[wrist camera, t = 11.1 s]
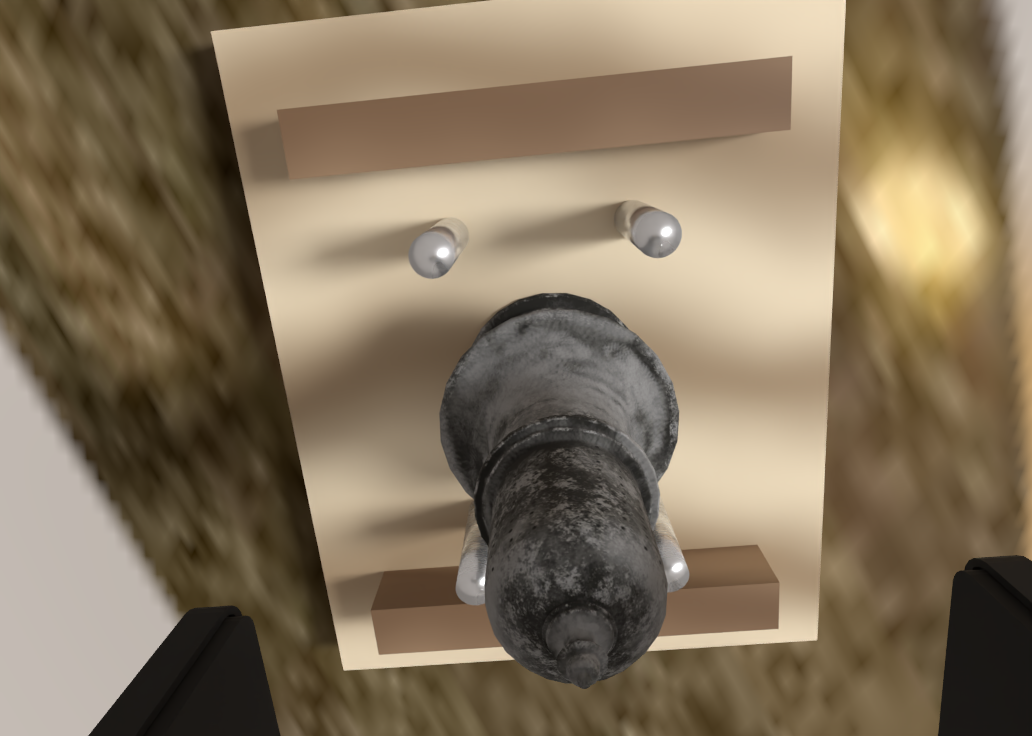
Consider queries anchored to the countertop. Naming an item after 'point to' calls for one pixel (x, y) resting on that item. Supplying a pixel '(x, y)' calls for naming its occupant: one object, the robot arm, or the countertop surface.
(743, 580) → the pin stand
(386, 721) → the countertop surface
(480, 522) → the weathered chess pawn
